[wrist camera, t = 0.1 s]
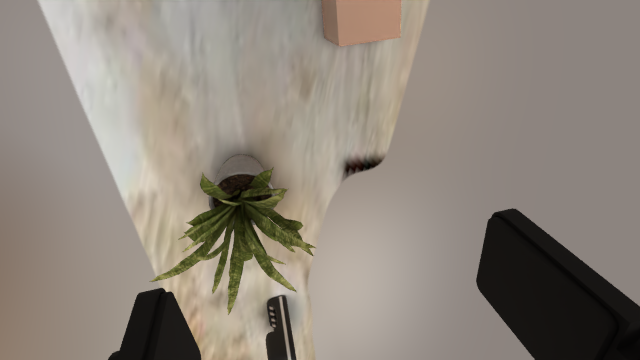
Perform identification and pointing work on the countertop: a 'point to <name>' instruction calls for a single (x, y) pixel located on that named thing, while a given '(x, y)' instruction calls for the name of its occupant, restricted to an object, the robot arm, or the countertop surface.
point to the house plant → (240, 223)
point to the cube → (361, 20)
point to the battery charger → (279, 331)
